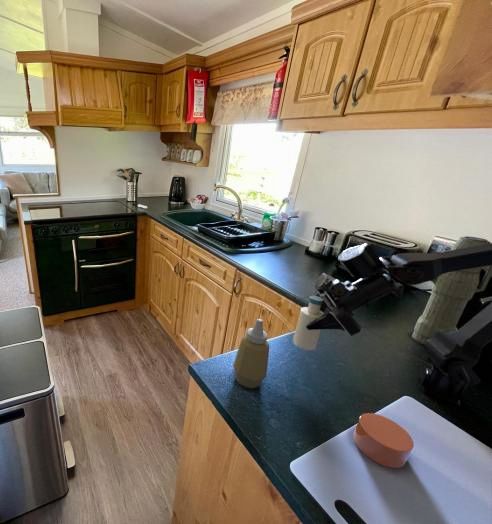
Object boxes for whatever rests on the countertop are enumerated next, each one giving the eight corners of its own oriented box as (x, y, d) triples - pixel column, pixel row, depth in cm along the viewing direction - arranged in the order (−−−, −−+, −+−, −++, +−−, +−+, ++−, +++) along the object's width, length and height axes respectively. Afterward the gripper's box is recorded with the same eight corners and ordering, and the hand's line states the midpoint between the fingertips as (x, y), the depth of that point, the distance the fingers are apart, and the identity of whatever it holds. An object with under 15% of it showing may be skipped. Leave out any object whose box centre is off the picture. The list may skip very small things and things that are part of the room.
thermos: (458, 355, 88) (513, 245, 76) (408, 341, 94) (451, 237, 82) (450, 341, 95) (500, 239, 83) (404, 329, 101) (444, 232, 89)
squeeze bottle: (238, 365, 80) (249, 307, 74) (268, 379, 75) (282, 319, 69) (226, 381, 74) (236, 320, 68) (257, 397, 69) (272, 333, 63)
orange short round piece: (405, 446, 59) (413, 429, 57) (405, 477, 52) (414, 460, 51) (355, 421, 64) (361, 406, 62) (350, 448, 58) (357, 431, 56)
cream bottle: (315, 342, 80) (328, 296, 75) (315, 353, 75) (329, 305, 70) (293, 335, 82) (304, 291, 77) (292, 346, 78) (303, 299, 73)
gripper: (331, 255, 78) (279, 286, 85) (359, 280, 61) (292, 317, 68) (356, 285, 79) (303, 314, 85) (391, 319, 62) (321, 351, 69)
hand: (304, 322), depth 77 cm, fingers closed on cream bottle, 5 cm apart
